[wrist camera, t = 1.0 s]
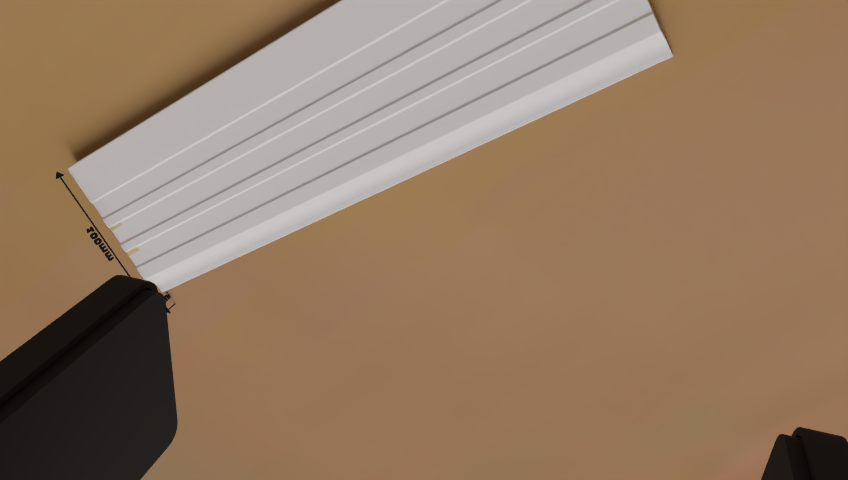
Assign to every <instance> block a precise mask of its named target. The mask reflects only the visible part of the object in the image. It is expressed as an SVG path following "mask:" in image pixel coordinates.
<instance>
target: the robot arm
mask: <svg viewBox="0 0 848 480" xmlns="http://www.w3.org/2000/svg"><path fill="white" fill-rule="evenodd" d="M176 430H177V412H176V402H175V392H174V382H173V372H172V362H171V352H170V342H169V332H168V322H167V312H166V302H165V298H164V296H163V294H161V293H158V290H157V287H156V286H155V284H154V283H152V282H150V281H146V280H141V279H137V278H132V277H128V276H124V275H116V276H114V277H112V278H111V279H109V280H108V281H107V282H105V283H104V284H103V285H101V286H100V287H99V288H97V289H96V290H95V291H93V292H92V293H91V294H89V295H88V296H87V297H85V298H84V299H83V300H81V301H80V302H79V303H78V304H76V305H75V306H74V307H72V308H71V309H70V310H68V311H67V312H66V313H64V314H63V315H62V316H60V317H59V318H58V319H56V320H55V321H54V322H52V323H51V324H50V325H48V326H47V327H46V328H44V329H43V330H42V331H40V332H39V333H38V334H36V335H35V336H34V337H32V338H31V339H30V340H28V341H27V342H26V343H24V344H23V345H22V346H20V347H19V348H18V349H16V350H15V351H14V352H12V353H11V354H10V355H8V356H7V357H6V358H4V359H3V360H2V361H0V480H140V479H141V478H142V477H143V476H144V475H145V473H146V472H147V471H148V470H149V469H150V467H151V466H152V465H153V464H154V463H155V462H156V460H157V459H158V458H159V457H160V456H161V455H162V453H163V452H164V451H165V450H166V449H167V447H168V446H169V445H170V444H171V442H172V440H173V438H174V436H175V433H176ZM761 480H848V442H847V440H846V439H845V438H844V437H842V436H838V435H833V434H829V433H824V432H820V431H815V430H811V429H806V428H802V427H799V428H796V430H795V431H794V432H793V434H792V436H788V435H784V434H780V435H779V436H778V437H777V439H776V441H775V444H774V446H773V449H772V452H771V455H770V457H769V460H768V463H767V465H766V468H765V471H764V473H763V476H762V479H761Z"/></svg>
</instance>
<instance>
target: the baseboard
mask: <svg viewBox="0 0 848 480" xmlns="http://www.w3.org/2000/svg"><path fill="white" fill-rule="evenodd" d="M672 56H673V53H672V51H671V49H670V46H669V44H668V42H667V39H666V37H665V35H664V33H663V30H662V28H661V26H660V24H659V21H658V19H657V17H656V14H655V12H654V10H653V8H652V5H651V3H650V1H649V0H340V1H338V2H337V3H335V4H334V5H332V6H330V7H329V8H327V9H325V10H324V11H322V12H321V13H319V14H317V15H316V16H314V17H312V18H311V19H309V20H308V21H306V22H304V23H303V24H301V25H299V26H298V27H296V28H294V29H293V30H291V31H290V32H288V33H286V34H285V35H283V36H281V37H280V38H278V39H277V40H275V41H273V42H272V43H270V44H268V45H267V46H265V47H264V48H262V49H260V50H259V51H257V52H255V53H254V54H252V55H250V56H249V57H247V58H246V59H244V60H242V61H241V62H239V63H237V64H236V65H234V66H233V67H231V68H229V69H228V70H226V71H224V72H223V73H221V74H220V75H218V76H216V77H215V78H213V79H211V80H210V81H208V82H206V83H205V84H203V85H202V86H200V87H198V88H197V89H195V90H193V91H192V92H190V93H189V94H187V95H185V96H184V97H182V98H180V99H179V100H177V101H176V102H174V103H172V104H171V105H169V106H167V107H166V108H164V109H163V110H161V111H159V112H158V113H156V114H154V115H153V116H151V117H149V118H148V119H146V120H145V121H143V122H141V123H140V124H138V125H136V126H135V127H133V128H132V129H130V130H128V131H127V132H125V133H123V134H122V135H120V136H119V137H117V138H115V139H114V140H112V141H110V142H109V143H107V144H105V145H104V146H102V147H101V148H99V149H97V150H96V151H94V152H92V153H91V154H89V155H88V156H86V157H84V158H83V159H81V160H79V161H78V162H76V163H75V164H73V165H71V166H70V167H68V168H67V169H68V170H69V172H70V173H71V175H72V176H73V178H74V179H75V181H76V182H77V183H78V185H79V186H80V188H81V189H82V191H83V192H84V194H85V195H86V196H87V198H88V199H89V201H90V202H91V203H93V204H94V206H95V207H96V209H97V210H98V212H99V213H100V215H101V216H102V217H103V221H104V222H105V224H106V225H107V227H108V228H110V229H111V230H112V232H113V233H114V235H115V236H116V238H117V239H118V241H119V242H120V245H121V247H122V248H123V250H124V251H125V252H127V254H128V255H129V256H130V258H131V259H132V261H133V262H134V264H135V265H136V269H137V270H138V271H139V273H140V274H141V276H142V277H143V279H144V280H148V281H151V282H153V283H154V284H156V285H157V286H158V287H159V289H160V290H161V292H164V291H166V290H169V289H171V288H173V287H175V286H177V285H179V284H182V283H184V282H186V281H188V280H190V279H192V278H195V277H197V276H199V275H201V274H203V273H205V272H208V271H210V270H212V269H214V268H216V267H218V266H221V265H223V264H225V263H227V262H229V261H231V260H233V259H236V258H238V257H240V256H242V255H244V254H246V253H249V252H251V251H253V250H255V249H257V248H259V247H262V246H264V245H266V244H268V243H270V242H272V241H275V240H277V239H279V238H281V237H283V236H285V235H288V234H290V233H292V232H294V231H296V230H298V229H301V228H303V227H305V226H307V225H309V224H311V223H313V222H316V221H318V220H320V219H322V218H324V217H326V216H329V215H331V214H333V213H335V212H337V211H339V210H342V209H344V208H346V207H348V206H350V205H352V204H355V203H357V202H359V201H361V200H363V199H365V198H368V197H370V196H372V195H374V194H376V193H378V192H381V191H383V190H385V189H387V188H389V187H391V186H393V185H396V184H398V183H400V182H402V181H404V180H406V179H409V178H411V177H413V176H415V175H417V174H419V173H422V172H424V171H426V170H428V169H430V168H432V167H435V166H437V165H439V164H441V163H443V162H445V161H448V160H450V159H452V158H454V157H456V156H458V155H461V154H463V153H465V152H467V151H469V150H471V149H473V148H476V147H478V146H480V145H482V144H484V143H486V142H489V141H491V140H493V139H495V138H497V137H499V136H502V135H504V134H506V133H508V132H510V131H512V130H515V129H517V128H519V127H521V126H523V125H525V124H528V123H530V122H532V121H534V120H536V119H538V118H541V117H543V116H545V115H547V114H549V113H551V112H553V111H556V110H558V109H560V108H562V107H564V106H566V105H569V104H571V103H573V102H575V101H577V100H579V99H582V98H584V97H586V96H588V95H590V94H592V93H595V92H597V91H599V90H601V89H603V88H605V87H608V86H610V85H612V84H614V83H616V82H618V81H621V80H623V79H625V78H627V77H629V76H631V75H633V74H636V73H638V72H640V71H642V70H644V69H646V68H649V67H651V66H653V65H655V64H657V63H659V62H662V61H664V60H666V59H668V58H670V57H672ZM61 176H63V174H61V173H58V172H56V179H57V178H59V177H60V179H61V180H62V181H63V179H62V178H61ZM63 183H64V184H65V182H64V181H63ZM65 186H66V187H67V189H68V190H69V191H70V189H69V188H68V186H67V185H66V184H65ZM70 193H71V194H72V192H71V191H70ZM72 196H73V197H74V199H75V200H76V202H77V203H78V204H79V202H78V201H77V199H76V198H75V196H74V195H73V194H72ZM79 206H80V207H81V209H82V210H83V212H84V213H85V214H86V212H85V211H84V209H83V208H82V206H81V205H80V204H79ZM86 216H87V217H88V219H89V220H90V222H91V223H92V224H93V222H92V221H91V219H90V218H89V216H88V215H87V214H86ZM93 226H94V227H95V225H94V224H93ZM95 229H96V230H97V232H98V233H99V234H100V232H99V231H98V229H97V228H96V227H95ZM90 231H95V230H94V229H93V228H92V227H90V230H89V229H87V233H89V232H90ZM93 235H95V237H93ZM100 236H101V237H102V235H101V234H100ZM90 237H91V238H92V239H95V238H97V237H98V235H97V233H95V232H94V233H92V234H91V235H90ZM102 239H103V240H104V242H105V243H106V244H107V242H106V241H105V239H104V238H103V237H102ZM98 240H99V242H98V243H97V241H98ZM101 242H102V241H101V239H100V238H97V239H95V240H94V243H95V244H96V245H98V244H100V243H101ZM103 245H104V243H102V244H101V245H99V247H100V249H101V250H102V252H103V253H104V252H106V251H108V249H106V250H104V248H106V246H104V247H102V246H103ZM107 246H108V247H109V245H108V244H107ZM109 249H110V250H111V252H112V253H113V254H114V252H113V251H112V249H111V248H110V247H109ZM109 253H110V252H109V251H108V252H107V253H105V256H106V257H107V258H108V260H109V261H110V260H112V259H114V258H113V257H112V258H109V257H110V256H112V255H111V254H110V255H107V254H109ZM114 256H115V257H116V255H115V254H114ZM116 259H117V260H118V262H119V263H120V264H121V262H120V261H119V259H118V258H117V257H116ZM121 266H122V267H123V265H122V264H121ZM123 269H124V270H125V268H124V267H123ZM125 272H126V273H127V275H128V276H129V277H130V275H129V274H128V272H127V271H126V270H125ZM166 293H167V292H166ZM168 296H169V297H170V295H169V294H168V295H167V294H166V295H165V296H164V298H165V300H166V301H168V300H169V299H170V298H171V297H170V298H169V297H168ZM166 297H167V298H168V300H167V298H166ZM166 301H165V302H166ZM174 305H175V304H174ZM174 305H172V306H171V307H173V306H174ZM171 307H170V308H171ZM170 308H169V309H170ZM169 309H167V307H166V312H168V313H170V311H169Z"/></svg>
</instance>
